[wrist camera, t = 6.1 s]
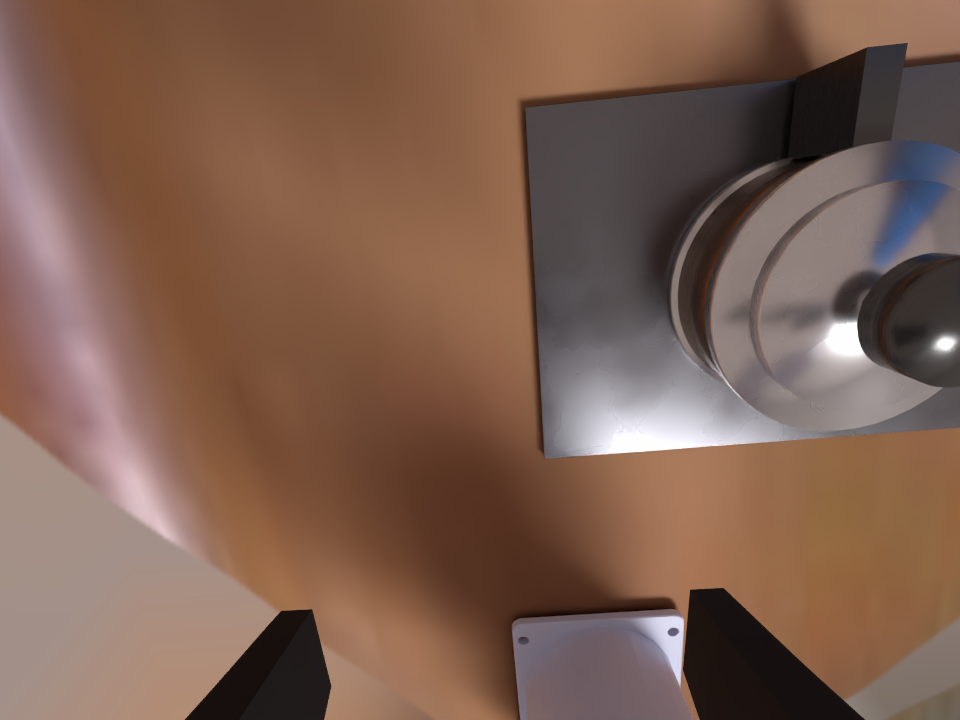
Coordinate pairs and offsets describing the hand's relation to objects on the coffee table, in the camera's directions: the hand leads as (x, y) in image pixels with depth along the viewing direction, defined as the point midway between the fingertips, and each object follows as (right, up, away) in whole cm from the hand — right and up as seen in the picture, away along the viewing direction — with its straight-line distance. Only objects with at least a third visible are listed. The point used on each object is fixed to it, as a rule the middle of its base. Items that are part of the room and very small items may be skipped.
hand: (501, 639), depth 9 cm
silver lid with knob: (+11, +7, +4) cm, 13 cm away
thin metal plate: (+11, +8, +8) cm, 16 cm away
